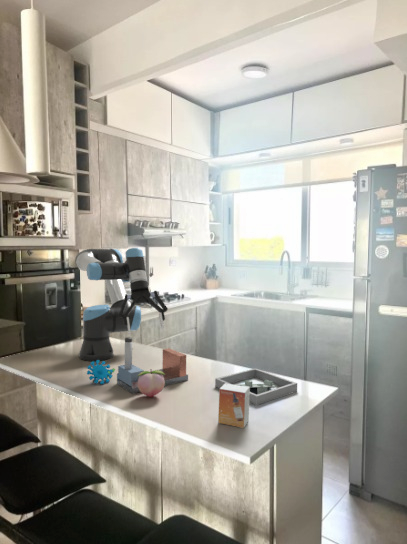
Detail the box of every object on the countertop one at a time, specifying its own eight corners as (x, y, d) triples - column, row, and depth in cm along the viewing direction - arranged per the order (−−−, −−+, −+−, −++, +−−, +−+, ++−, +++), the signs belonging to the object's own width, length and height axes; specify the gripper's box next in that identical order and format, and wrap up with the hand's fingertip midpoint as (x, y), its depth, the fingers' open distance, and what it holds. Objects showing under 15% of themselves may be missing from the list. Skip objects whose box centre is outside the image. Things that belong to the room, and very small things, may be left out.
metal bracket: (283, 380, 137) (241, 382, 135) (284, 398, 136) (242, 399, 134) (271, 378, 151) (233, 379, 149) (272, 394, 150) (233, 395, 148)
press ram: (118, 378, 145) (118, 335, 144) (130, 376, 149) (130, 334, 147) (131, 386, 138) (131, 341, 137) (143, 383, 141) (144, 339, 140)
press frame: (116, 383, 146) (117, 357, 146) (170, 371, 161) (170, 347, 161) (132, 393, 137) (132, 365, 136) (188, 380, 152) (188, 354, 151)
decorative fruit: (160, 390, 140) (161, 363, 140) (166, 399, 133) (167, 370, 132) (134, 393, 137) (134, 365, 136) (139, 402, 129) (139, 373, 129)
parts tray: (215, 386, 146) (215, 378, 145) (254, 375, 159) (255, 368, 158) (256, 405, 129) (256, 396, 129) (297, 391, 142) (297, 383, 142)
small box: (217, 423, 115) (218, 388, 115) (223, 416, 121) (224, 382, 120) (244, 428, 113) (245, 392, 112) (249, 420, 118) (250, 386, 117)
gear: (90, 383, 142) (85, 359, 148) (84, 391, 145) (80, 367, 151) (118, 381, 148) (113, 358, 154) (112, 389, 152) (107, 366, 158)
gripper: (109, 283, 161) (115, 333, 154) (168, 276, 168) (177, 324, 161) (108, 289, 168) (115, 337, 161) (166, 282, 175) (174, 328, 168)
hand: (146, 331), depth 161 cm, fingers open, 13 cm apart
